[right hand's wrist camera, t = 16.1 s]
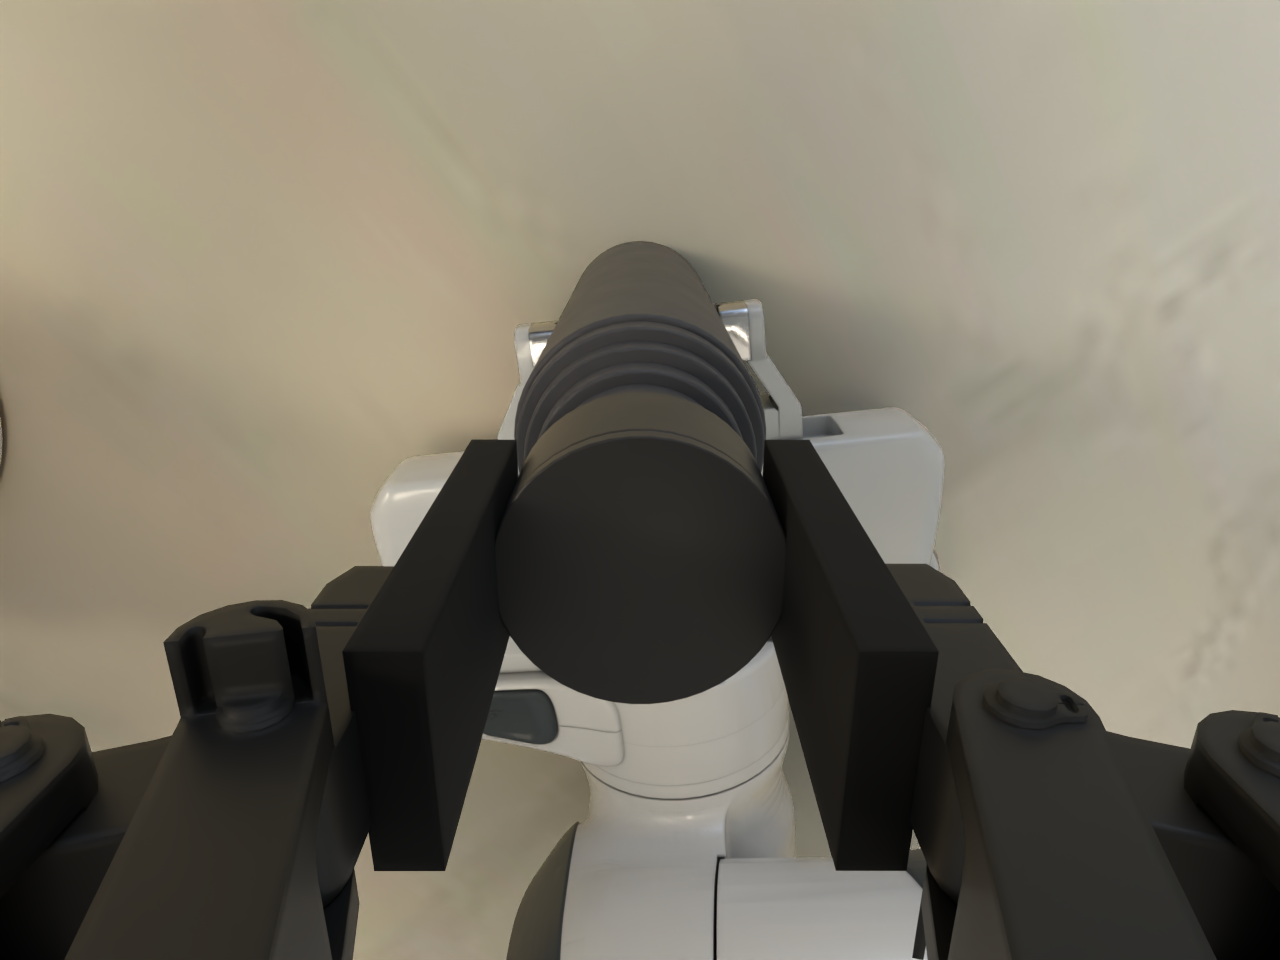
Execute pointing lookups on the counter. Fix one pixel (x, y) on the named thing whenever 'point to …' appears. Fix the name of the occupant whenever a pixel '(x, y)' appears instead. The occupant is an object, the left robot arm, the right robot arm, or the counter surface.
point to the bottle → (640, 347)
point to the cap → (640, 551)
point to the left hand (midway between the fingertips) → (635, 313)
